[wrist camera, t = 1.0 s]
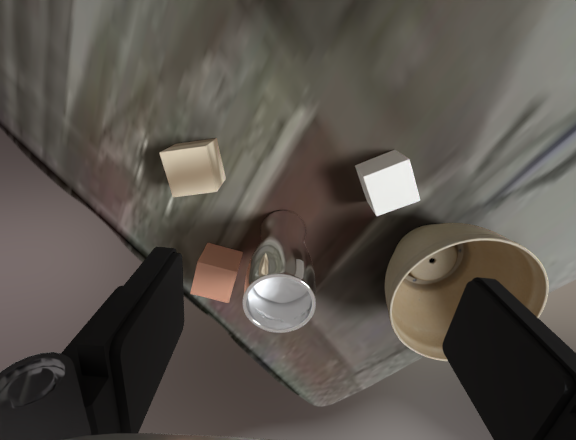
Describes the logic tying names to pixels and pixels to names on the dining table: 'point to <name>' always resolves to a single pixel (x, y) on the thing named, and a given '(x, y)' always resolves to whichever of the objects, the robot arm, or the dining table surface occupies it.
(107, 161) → the dining table surface
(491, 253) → the planter bowl
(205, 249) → the rust block
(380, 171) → the cream block
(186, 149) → the beech block
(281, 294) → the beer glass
